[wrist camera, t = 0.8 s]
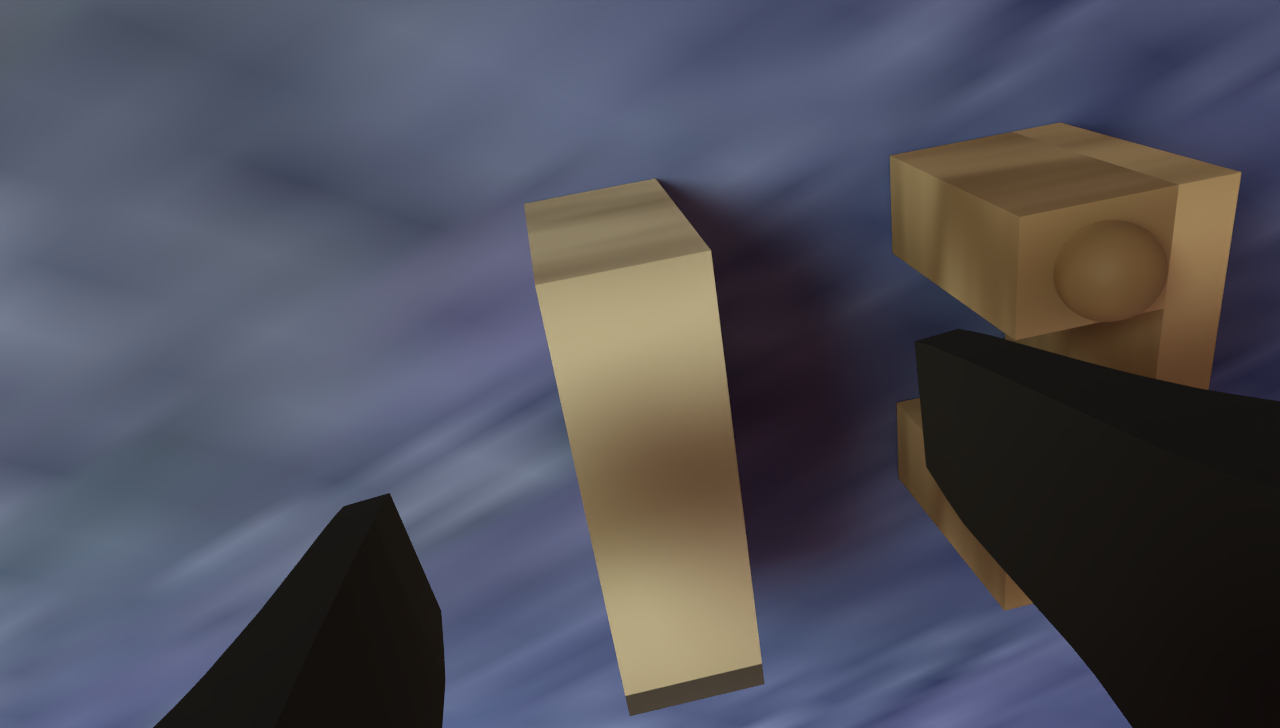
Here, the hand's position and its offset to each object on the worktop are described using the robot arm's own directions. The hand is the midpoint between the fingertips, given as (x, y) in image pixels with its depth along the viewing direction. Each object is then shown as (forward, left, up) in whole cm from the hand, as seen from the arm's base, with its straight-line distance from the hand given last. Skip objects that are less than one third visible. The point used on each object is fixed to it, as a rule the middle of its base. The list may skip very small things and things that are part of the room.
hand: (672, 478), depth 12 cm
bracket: (-3, -9, -10) cm, 13 cm away
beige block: (-3, 0, -10) cm, 10 cm away
